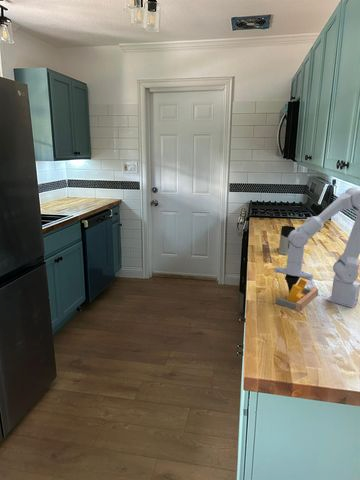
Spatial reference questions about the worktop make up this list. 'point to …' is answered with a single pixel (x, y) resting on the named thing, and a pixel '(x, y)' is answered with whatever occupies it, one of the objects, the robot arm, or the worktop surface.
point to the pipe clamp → (297, 291)
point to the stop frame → (302, 302)
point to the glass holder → (285, 239)
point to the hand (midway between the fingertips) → (290, 292)
